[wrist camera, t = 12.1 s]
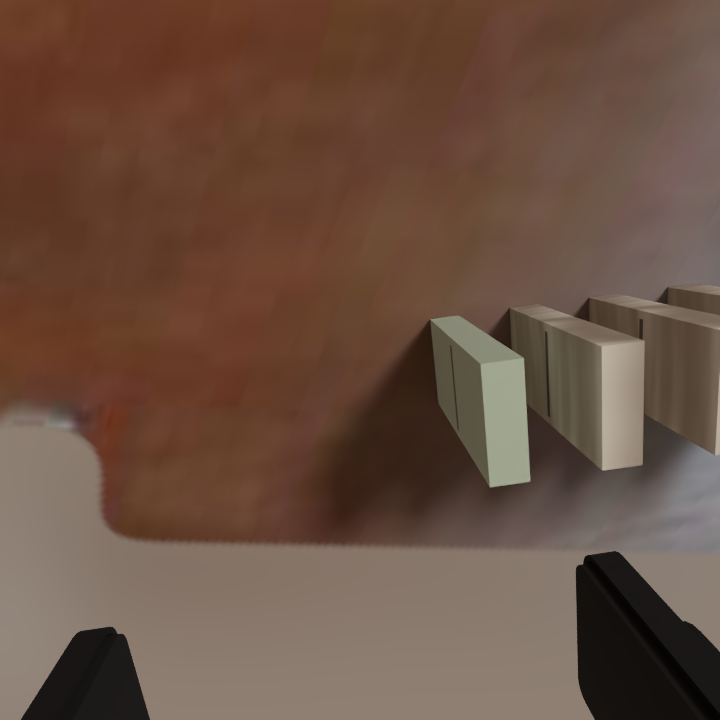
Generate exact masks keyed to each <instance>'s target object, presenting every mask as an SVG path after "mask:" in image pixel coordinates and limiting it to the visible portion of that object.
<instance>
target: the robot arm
mask: <svg viewBox="0 0 720 720" xmlns="http://www.w3.org/2000/svg"><path fill="white" fill-rule="evenodd" d="M576 599H577V645H578V680H579V686H580V689H581V692H582V695H583V698H584V700H585V702H586V704H587V706H588V708H589V710H590V712H591V713H592V715H593V717H594V719H595V720H720V652H719V651H718V650H717V648H716V647H715V646H714V645H713V644H712V643H711V642H710V641H709V640H708V639H707V638H706V637H705V636H704V635H703V634H702V632H701V631H699V630H698V629H697V628H696V627H695V626H694V625H693V624H690V623H688V622H686V621H682V620H681V619H680V618H679V617H678V616H677V615H676V614H675V613H674V612H673V611H672V609H671V608H670V607H669V606H668V605H667V604H666V603H665V602H664V601H663V600H662V598H660V596H659V595H658V594H657V593H656V592H655V591H654V590H653V589H652V588H651V586H650V585H649V584H648V583H647V582H646V581H645V580H644V579H643V578H642V577H641V576H640V575H639V573H638V572H637V571H636V570H635V569H634V568H633V567H632V566H631V565H630V564H629V562H628V561H627V560H626V559H625V558H624V557H623V556H622V555H621V554H620V553H619V552H616V551H613V552H607V553H600V554H593V555H587V556H585V558H584V563H583V565H578V566H577V568H576ZM21 720H150V718H149V715H148V711H147V708H146V705H145V701H144V698H143V695H142V691H141V687H140V684H139V680H138V677H137V674H136V670H135V667H134V663H133V660H132V656H131V653H130V649H129V646H128V642H127V639H126V637H125V636H124V635H123V634H117V632H116V630H115V629H114V628H113V627H105V628H99V629H92V630H85V631H80V632H78V633H77V634H76V635H75V636H74V637H73V638H72V640H71V642H70V643H69V645H68V646H67V648H66V649H65V651H64V653H63V654H62V656H61V657H60V659H59V661H58V662H57V664H56V665H55V667H54V669H53V670H52V672H51V673H50V675H49V676H48V678H47V679H46V681H45V683H44V684H43V686H42V688H41V689H40V690H39V692H38V694H37V695H36V697H35V699H34V700H33V701H32V703H31V705H30V706H29V708H28V709H27V711H26V712H25V714H24V716H23V717H22V719H21Z"/></svg>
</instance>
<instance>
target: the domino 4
mask: <svg viewBox="0 0 720 720" xmlns="http://www.w3.org/2000/svg"><path fill="white" fill-rule="evenodd" d="M667 305H672V306H677V307H682V308H686V309H691V310H696V311H701V312H705V313H710V314H715V315H720V287H717V286H710V285H702V284H689V285H681V286H674V287H668V296H667Z"/></svg>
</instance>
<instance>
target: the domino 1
mask: <svg viewBox="0 0 720 720" xmlns="http://www.w3.org/2000/svg"><path fill="white" fill-rule="evenodd" d="M430 323H431V333H432V343H433V354H434V364H435V374H436V384H437V394H438V404H439V406H440V407H441V409H442V410H443V412H444V414H445V415H446V417H447V419H448V420H449V422H450V423H451V425H452V427H453V428H454V430H455V432H456V433H457V435H458V436H459V438H460V440H461V441H462V443H463V445H464V446H465V448H466V449H467V451H468V453H469V454H470V456H471V458H472V459H473V461H474V463H475V464H476V466H477V467H478V469H479V471H480V472H481V474H482V476H483V477H484V479H485V480H486V482H487V484H488V485H489V487H497V486H504V485H511V484H518V483H525V482H530V464H529V445H528V426H527V407H526V388H525V369H524V358H523V357H522V356H520V355H518V354H517V353H515V352H514V351H512V350H511V349H509V348H508V347H506V346H505V345H503V344H502V343H500V342H498V341H497V340H495V339H494V338H492V337H491V336H489V335H488V334H486V333H485V332H483V331H482V330H480V329H479V328H477V327H475V326H474V325H472V324H471V323H469V322H468V321H466V320H465V319H463V318H462V317H460V316H459V315H458V316H451V317H444V318H437V319H430Z"/></svg>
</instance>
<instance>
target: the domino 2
mask: <svg viewBox="0 0 720 720" xmlns="http://www.w3.org/2000/svg"><path fill="white" fill-rule="evenodd" d="M510 327H511V346H512V351H514V352H515V353H517V354H518V355H520V356H522V357H523V358H524V369H525V388H526V404H527V405H528V406H529V407H531V408H532V409H533V410H534V411H535V412H536V413H537V414H539V415H540V416H541V417H542V418H543V419H544V420H545V421H546V422H548V423H549V424H550V425H551V426H552V427H553V428H554V429H556V430H557V431H558V432H559V433H560V434H561V435H562V436H564V437H565V438H566V439H567V440H568V441H569V442H570V443H571V444H573V445H574V446H575V447H576V448H577V449H578V450H579V451H581V452H582V453H583V454H584V455H585V456H586V457H587V458H589V459H590V460H591V461H592V462H593V463H594V464H595V465H596V466H598V467H599V468H600V469H601V470H602V471H604V470H611V469H618V468H626V467H633V466H640V465H643V412H644V349H645V341H644V340H641V339H638V338H635V337H632V336H629V335H626V334H623V333H620V332H618V331H615V330H612V329H609V328H606V327H603V326H600V325H597V324H594V323H591V322H588V321H585V320H582V319H579V318H576V317H574V316H571V315H568V314H565V313H562V312H559V311H556V310H553V309H550V308H547V307H544V306H541V305H538V304H536V305H529V306H521V307H514V308H510Z"/></svg>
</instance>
